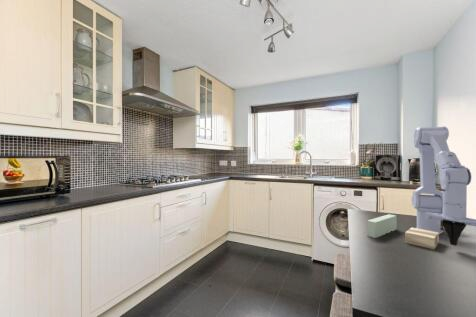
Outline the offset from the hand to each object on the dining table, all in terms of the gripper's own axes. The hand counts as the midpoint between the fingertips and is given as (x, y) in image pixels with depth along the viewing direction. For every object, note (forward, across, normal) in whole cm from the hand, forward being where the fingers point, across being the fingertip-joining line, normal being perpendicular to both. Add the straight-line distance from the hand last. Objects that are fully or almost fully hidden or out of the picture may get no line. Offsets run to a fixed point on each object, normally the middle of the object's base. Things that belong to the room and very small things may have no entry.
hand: (453, 244), depth 74 cm
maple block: (+2, -8, 0) cm, 9 cm away
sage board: (+2, -21, 0) cm, 21 cm away
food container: (+2, -11, +30) cm, 32 cm away
